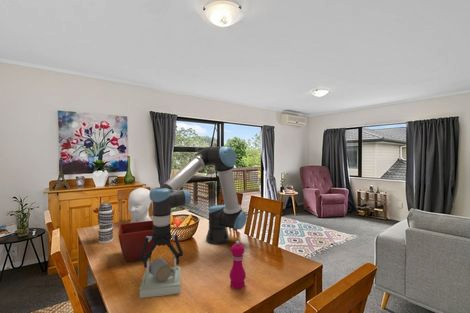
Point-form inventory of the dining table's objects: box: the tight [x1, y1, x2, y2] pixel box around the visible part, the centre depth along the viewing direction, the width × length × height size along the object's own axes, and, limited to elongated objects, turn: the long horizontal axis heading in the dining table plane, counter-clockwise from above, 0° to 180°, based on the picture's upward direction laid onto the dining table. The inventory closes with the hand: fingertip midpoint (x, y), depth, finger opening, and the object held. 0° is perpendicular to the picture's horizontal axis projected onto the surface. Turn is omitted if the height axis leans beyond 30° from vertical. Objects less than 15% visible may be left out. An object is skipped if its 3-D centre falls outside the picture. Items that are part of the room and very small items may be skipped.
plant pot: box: [117, 220, 154, 263], centre depth 136 cm, size 19×19×17 cm
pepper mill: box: [229, 240, 246, 290], centre depth 106 cm, size 7×7×20 cm
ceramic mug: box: [149, 257, 175, 282], centre depth 107 cm, size 11×8×8 cm
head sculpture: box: [128, 187, 153, 223], centre depth 194 cm, size 20×23×30 cm
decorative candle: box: [97, 202, 114, 244], centre depth 159 cm, size 9×9×25 cm
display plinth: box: [139, 266, 181, 299], centre depth 106 cm, size 16×16×4 cm
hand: (162, 273), depth 106 cm, fingers closed on ceramic mug, 11 cm apart
